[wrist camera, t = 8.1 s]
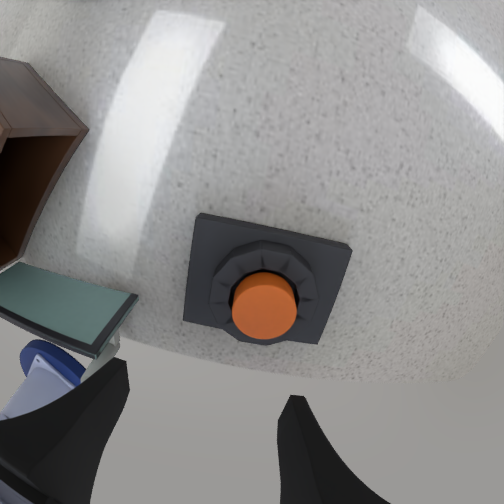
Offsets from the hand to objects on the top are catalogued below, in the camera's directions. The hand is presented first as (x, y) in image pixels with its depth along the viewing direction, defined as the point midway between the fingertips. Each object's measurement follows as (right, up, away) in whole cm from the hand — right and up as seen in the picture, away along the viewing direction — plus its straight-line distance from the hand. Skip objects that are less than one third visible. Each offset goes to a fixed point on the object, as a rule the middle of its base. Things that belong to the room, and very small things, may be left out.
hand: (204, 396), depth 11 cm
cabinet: (-18, +14, +6) cm, 24 cm away
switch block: (+3, +4, +9) cm, 10 cm away
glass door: (-13, +2, +8) cm, 15 cm away
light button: (+3, +3, +6) cm, 8 cm away
